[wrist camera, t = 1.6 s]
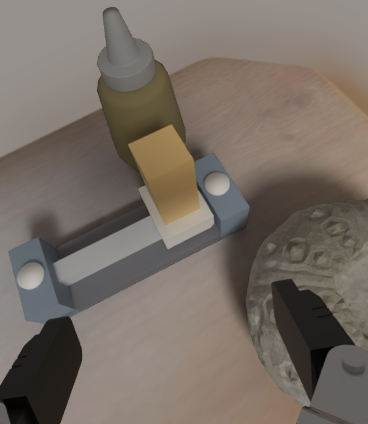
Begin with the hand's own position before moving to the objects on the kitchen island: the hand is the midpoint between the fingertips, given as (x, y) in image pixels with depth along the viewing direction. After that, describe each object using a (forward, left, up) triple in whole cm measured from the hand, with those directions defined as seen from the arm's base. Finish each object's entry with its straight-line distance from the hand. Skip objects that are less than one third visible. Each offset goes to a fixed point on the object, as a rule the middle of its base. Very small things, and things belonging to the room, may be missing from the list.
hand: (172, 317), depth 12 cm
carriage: (+4, +11, -17) cm, 21 cm away
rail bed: (-1, +11, -19) cm, 22 cm away
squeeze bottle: (+5, +21, -19) cm, 29 cm away
